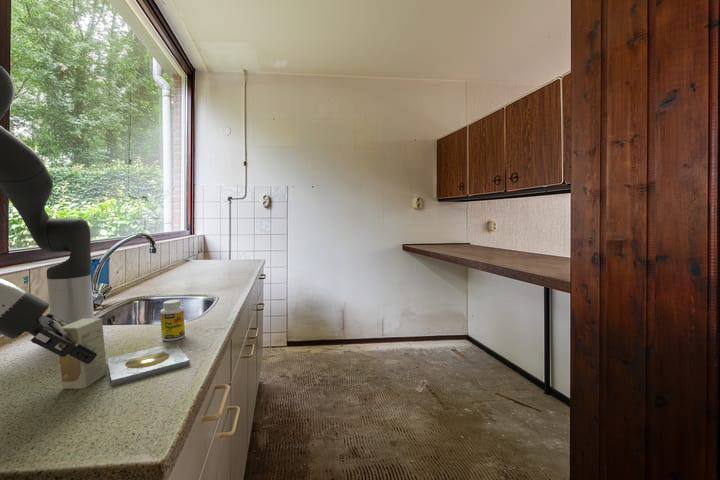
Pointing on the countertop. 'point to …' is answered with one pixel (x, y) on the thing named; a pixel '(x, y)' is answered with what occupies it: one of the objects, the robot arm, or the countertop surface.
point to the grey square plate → (146, 363)
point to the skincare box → (76, 370)
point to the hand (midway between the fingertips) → (92, 353)
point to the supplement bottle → (172, 321)
